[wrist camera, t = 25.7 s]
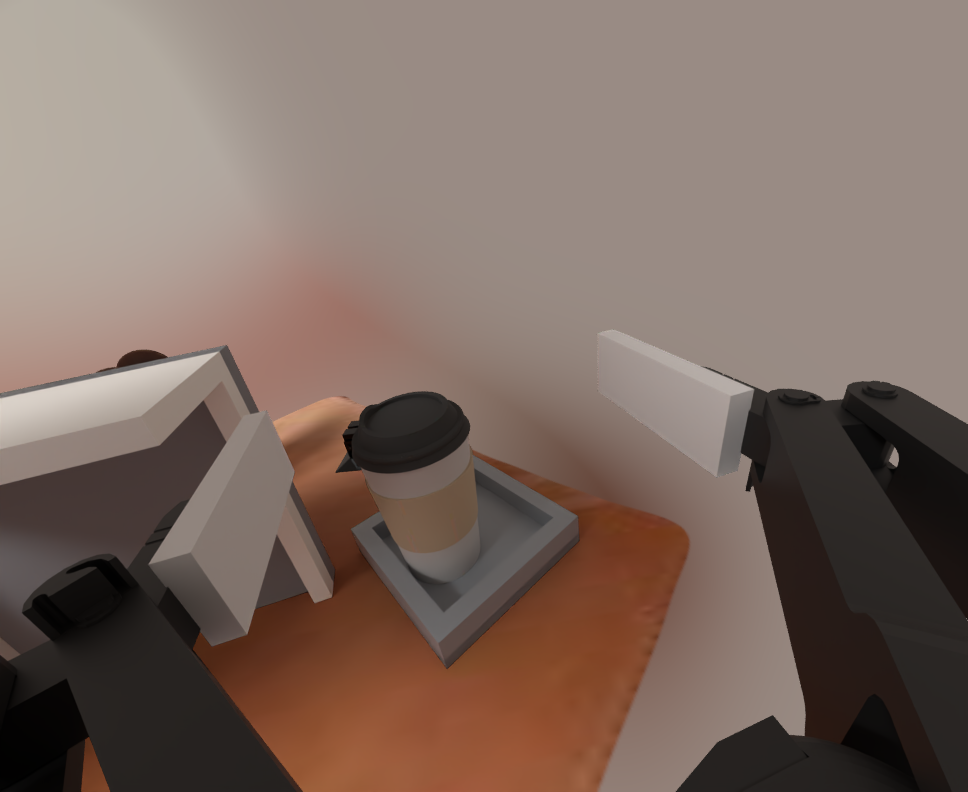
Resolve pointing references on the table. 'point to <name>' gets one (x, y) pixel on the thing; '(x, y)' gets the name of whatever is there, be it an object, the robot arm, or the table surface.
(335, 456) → the table surface
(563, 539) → the tray
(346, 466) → the black angled block
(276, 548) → the cubby
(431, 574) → the coffee cup
